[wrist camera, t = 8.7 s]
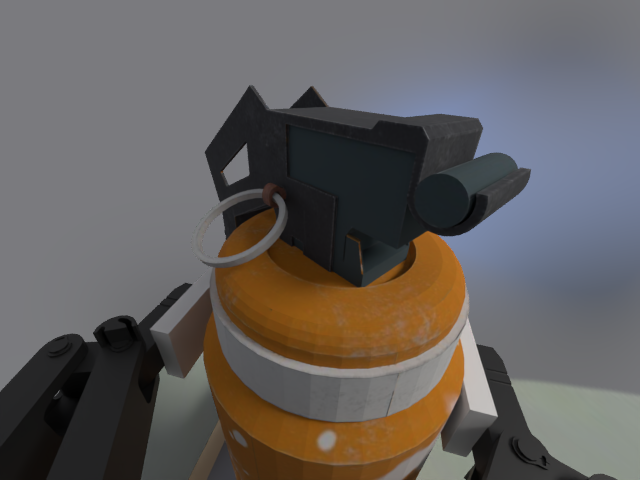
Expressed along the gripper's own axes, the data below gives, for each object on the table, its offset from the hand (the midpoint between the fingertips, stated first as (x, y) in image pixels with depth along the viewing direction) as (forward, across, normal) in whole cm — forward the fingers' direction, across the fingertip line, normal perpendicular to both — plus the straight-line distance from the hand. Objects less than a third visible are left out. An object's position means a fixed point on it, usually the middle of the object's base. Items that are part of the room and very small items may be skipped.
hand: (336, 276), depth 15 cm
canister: (-4, 0, -11) cm, 12 cm away
